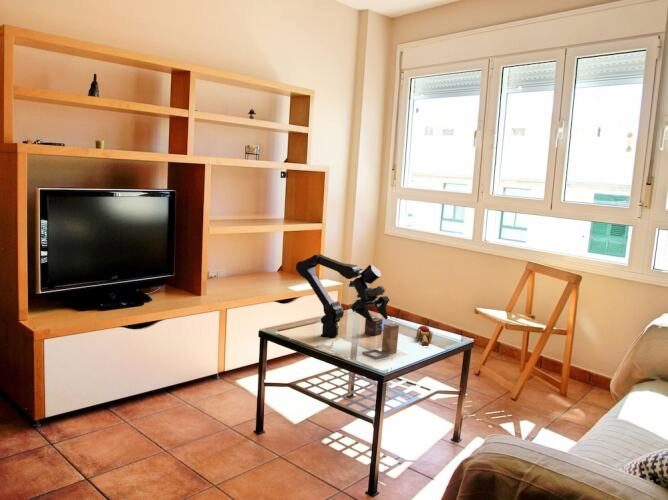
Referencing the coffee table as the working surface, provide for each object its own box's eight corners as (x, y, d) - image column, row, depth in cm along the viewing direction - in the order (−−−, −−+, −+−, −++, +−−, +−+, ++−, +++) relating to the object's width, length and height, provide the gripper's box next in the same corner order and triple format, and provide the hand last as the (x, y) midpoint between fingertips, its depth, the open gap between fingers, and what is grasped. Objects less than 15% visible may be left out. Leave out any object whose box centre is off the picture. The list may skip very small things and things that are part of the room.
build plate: (355, 355, 237) (356, 351, 236) (387, 348, 249) (387, 344, 249) (376, 364, 228) (377, 359, 228) (408, 356, 240) (408, 351, 240)
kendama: (435, 351, 256) (432, 334, 273) (434, 337, 254) (431, 322, 271) (417, 352, 257) (415, 335, 274) (416, 339, 255) (414, 323, 272)
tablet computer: (370, 321, 297) (370, 318, 296) (394, 323, 295) (395, 321, 294) (365, 330, 278) (366, 328, 278) (391, 333, 276) (392, 331, 276)
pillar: (381, 351, 241) (383, 323, 240) (388, 349, 244) (391, 322, 243) (389, 354, 238) (391, 326, 236) (396, 352, 241) (398, 325, 239)
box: (374, 336, 267) (375, 321, 266) (364, 333, 270) (365, 318, 269) (381, 334, 272) (382, 319, 271) (371, 331, 275) (372, 316, 274)
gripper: (357, 281, 240) (374, 312, 233) (388, 278, 253) (405, 307, 246) (343, 295, 247) (359, 326, 240) (374, 291, 259) (390, 321, 253)
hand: (379, 320), depth 245 cm, fingers open, 9 cm apart
